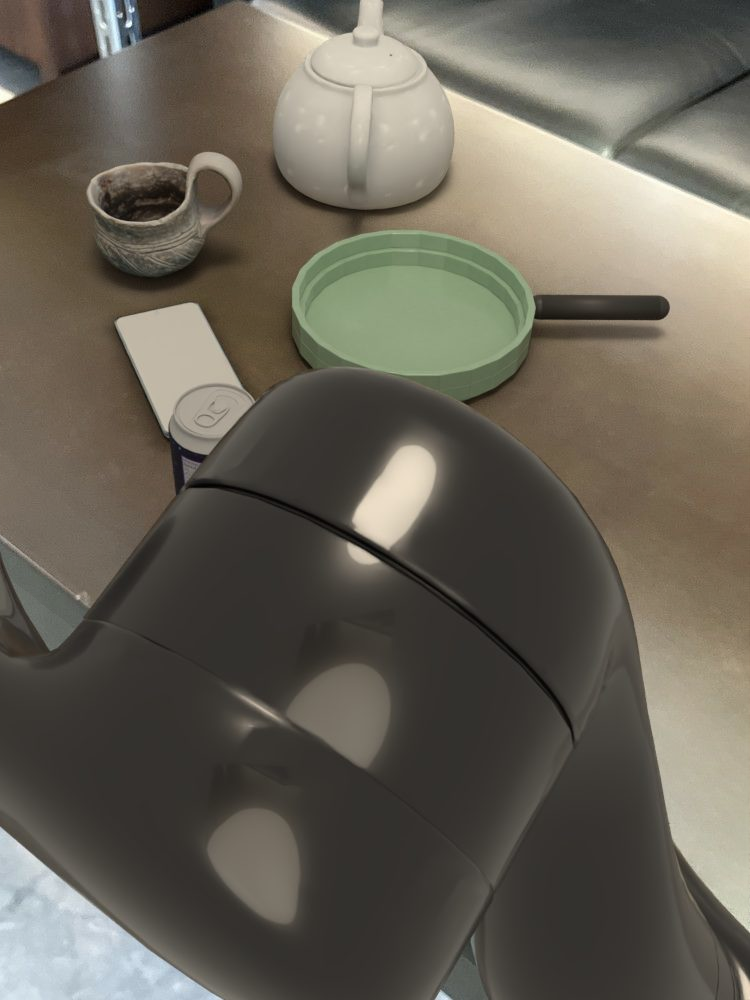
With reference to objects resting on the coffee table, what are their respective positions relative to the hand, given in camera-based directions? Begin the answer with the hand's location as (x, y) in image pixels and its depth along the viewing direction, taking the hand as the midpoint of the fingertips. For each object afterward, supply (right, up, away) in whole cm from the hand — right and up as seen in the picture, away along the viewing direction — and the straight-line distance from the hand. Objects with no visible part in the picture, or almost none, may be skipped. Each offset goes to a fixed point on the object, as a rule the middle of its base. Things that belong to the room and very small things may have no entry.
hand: (406, 470), depth 66 cm
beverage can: (-12, -5, +10) cm, 16 cm away
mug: (-19, +19, +33) cm, 42 cm away
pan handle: (+16, +13, +27) cm, 34 cm away
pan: (+1, +12, +27) cm, 29 cm away
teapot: (-3, +30, +44) cm, 53 cm away
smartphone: (-17, +8, +22) cm, 29 cm away
